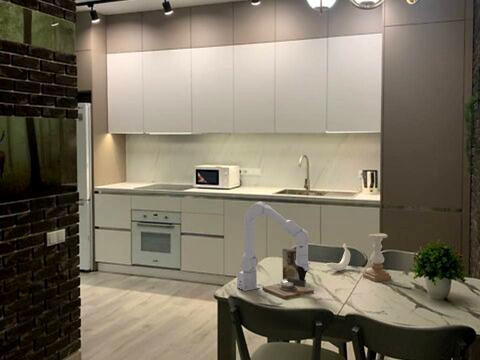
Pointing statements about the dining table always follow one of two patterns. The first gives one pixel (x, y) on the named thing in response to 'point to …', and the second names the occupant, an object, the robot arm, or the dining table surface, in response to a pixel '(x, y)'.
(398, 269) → the dining table surface
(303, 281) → the steel cap
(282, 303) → the dining table surface
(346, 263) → the banana
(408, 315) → the dining table surface
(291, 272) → the coffee box
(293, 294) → the post base
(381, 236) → the candle holder
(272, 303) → the dining table surface
